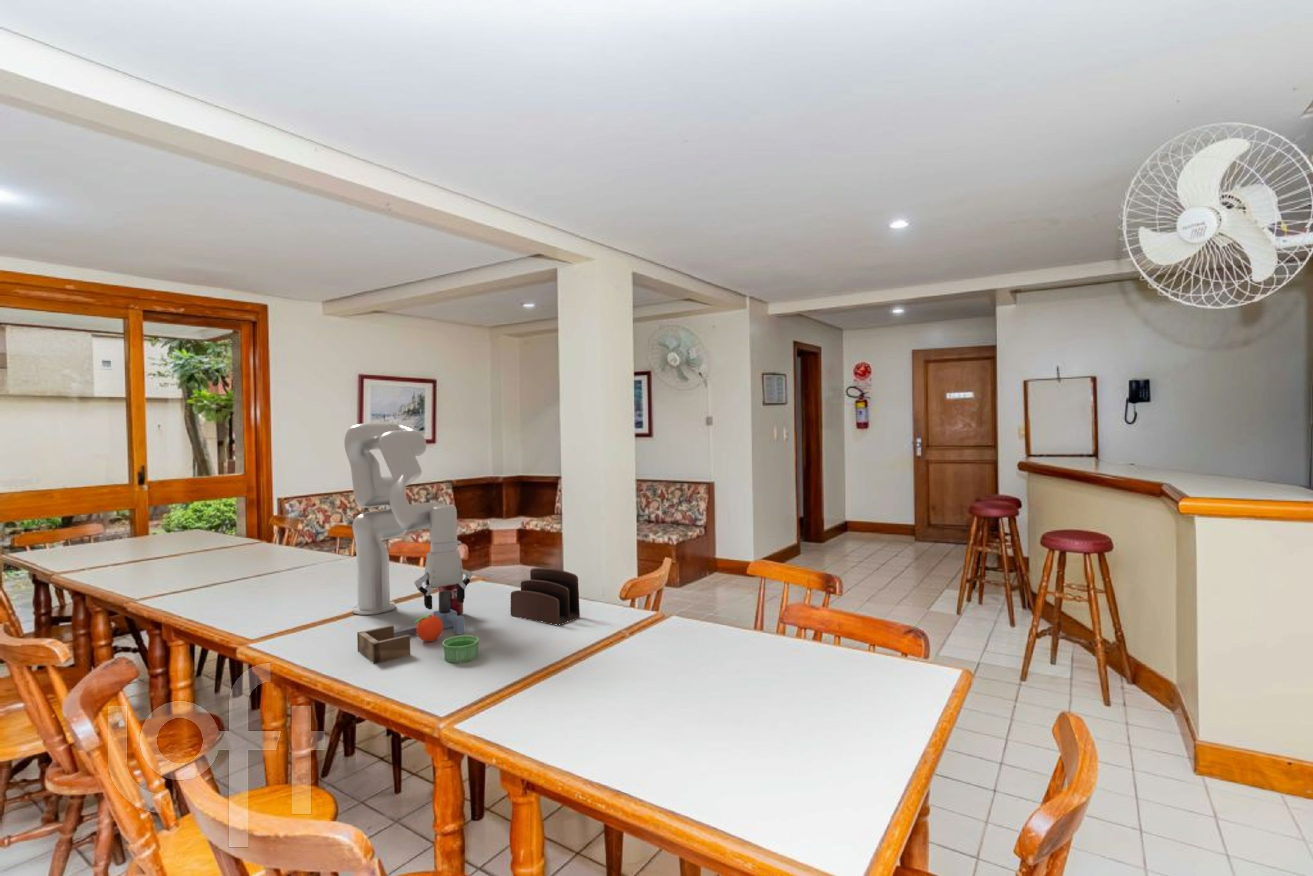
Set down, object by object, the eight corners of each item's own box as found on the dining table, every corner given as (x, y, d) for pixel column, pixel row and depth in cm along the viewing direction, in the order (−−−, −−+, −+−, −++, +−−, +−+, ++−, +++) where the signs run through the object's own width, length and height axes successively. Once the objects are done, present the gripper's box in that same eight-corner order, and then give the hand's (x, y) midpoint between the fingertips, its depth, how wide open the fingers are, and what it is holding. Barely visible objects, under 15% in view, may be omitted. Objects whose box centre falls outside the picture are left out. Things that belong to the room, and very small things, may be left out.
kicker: (433, 625, 190) (432, 591, 189) (449, 621, 193) (448, 588, 193) (452, 635, 180) (451, 600, 180) (469, 631, 184) (468, 596, 183)
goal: (357, 651, 169) (357, 632, 169) (392, 643, 175) (392, 624, 175) (374, 663, 160) (373, 644, 160) (410, 654, 166) (410, 635, 166)
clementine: (414, 647, 172) (413, 621, 172) (411, 639, 178) (410, 614, 178) (445, 642, 175) (444, 616, 175) (441, 635, 182) (440, 610, 181)
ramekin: (486, 654, 166) (486, 637, 166) (462, 666, 158) (462, 648, 158) (459, 649, 170) (459, 633, 170) (434, 661, 162) (434, 643, 162)
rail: (378, 640, 178) (378, 632, 178) (452, 623, 192) (452, 616, 192) (382, 642, 176) (382, 635, 176) (457, 625, 190) (457, 618, 190)
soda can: (467, 612, 203) (466, 574, 203) (457, 619, 196) (457, 580, 196) (444, 612, 204) (444, 574, 204) (434, 619, 197) (434, 580, 196)
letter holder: (532, 608, 208) (531, 565, 207) (580, 617, 197) (579, 572, 197) (510, 616, 199) (509, 571, 199) (558, 626, 189) (557, 578, 188)
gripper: (465, 541, 197) (466, 597, 198) (409, 549, 186) (410, 608, 186) (477, 544, 192) (478, 601, 192) (420, 553, 180) (421, 613, 181)
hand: (444, 605), depth 189 cm, fingers open, 9 cm apart
